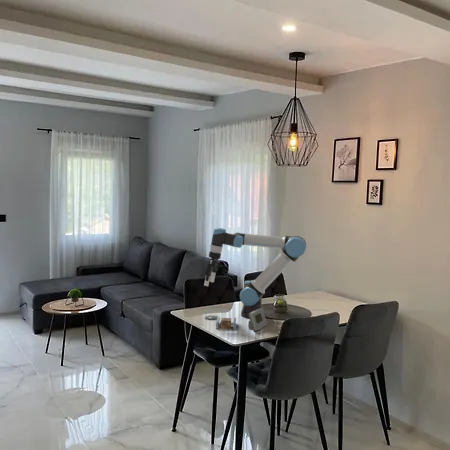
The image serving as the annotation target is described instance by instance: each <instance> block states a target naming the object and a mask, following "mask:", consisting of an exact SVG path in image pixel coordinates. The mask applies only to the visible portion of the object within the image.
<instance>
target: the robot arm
mask: <svg viewBox="0 0 450 450" xmlns="http://www.w3.org/2000/svg"><path fill="white" fill-rule="evenodd" d="M226 231H227V230H226V228H222V227H215V228H214V229H213V233H212V237H211V244H210V245H209V247H210V249H209V253H208V258H210V259H209V260H208V265H207V268H206V270H205V273H204V276H205V278H204V283H203V286H204V287H205V286H206V287H209V285H210V282H211V283H214V282H215V278H216V274H217V273H218V266H219V265H218V264H219V260H220V259H221V256H222V252H223V246H224V245H225V246H230V247H234V248H238V249H240V248H241V247H242V246H250V247H251V246H252V247H259V248H260V247H261V248H270V249H271V248H272V249H278V250H279V249H280V253H279V254H278V255H277V256H276V257H275V258H274V259H273V260H272V262H270V263H269V264H268V266H267V267H266V268H264V269H263V271H262V272H261V273H260V274H259V275H258V276H257V277H256V278H255V279H253V280H252V279H251V280H245V281H244V284H243V287H244V288H242V289H241V290H240V292H239V300H240V302H241V303H242V304H243V305H242V308H241V312H240V316H241V317H243V318H247V319H250V318H249V313H251V312H252V311H254V310H257V309H259V308H262V309H263V312H264V313H265V311H264V308H263V303H262V299H263V296H264V295H265V294H266V291H265V290H266V289H267V288H268V287H269V286H270V285H271V284H272V283H273V282H274V281H275V280H276V279H277V278H278V277H279V275H281V273H282V272H283V271H284V270H285V269H286V268H287V267H288V266H289V265H290V264H291V263H295V262H296V261H297V260H298V259H299V258H300V257H301V256H303V255H304V254H305V252H306V248H307V242H306V240H305V239H304V238H303V237H302V236H300V235H285V236H275V235H261V234H253V233H242V232H235V233H228V232H226Z"/></svg>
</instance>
